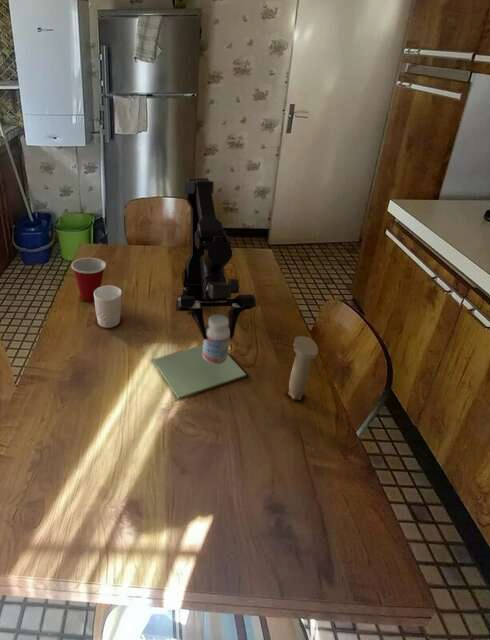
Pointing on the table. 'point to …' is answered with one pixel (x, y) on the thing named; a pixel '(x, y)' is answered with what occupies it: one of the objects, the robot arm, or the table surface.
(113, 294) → the white cup
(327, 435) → the table surface
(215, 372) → the mat
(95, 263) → the plastic cup
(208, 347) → the pill bottle
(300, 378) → the handle
